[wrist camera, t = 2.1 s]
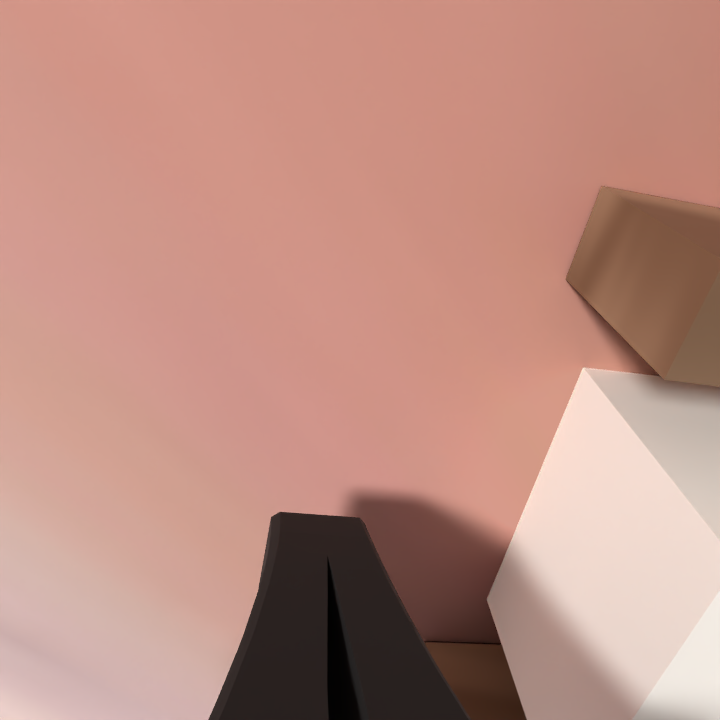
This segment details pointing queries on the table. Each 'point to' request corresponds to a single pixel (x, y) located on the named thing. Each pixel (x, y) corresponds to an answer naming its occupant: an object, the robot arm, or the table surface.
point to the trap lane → (645, 335)
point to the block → (619, 558)
